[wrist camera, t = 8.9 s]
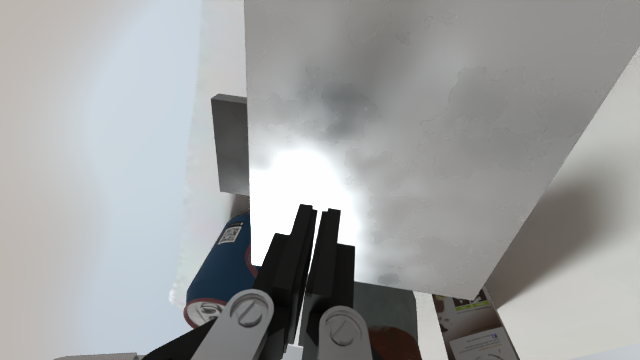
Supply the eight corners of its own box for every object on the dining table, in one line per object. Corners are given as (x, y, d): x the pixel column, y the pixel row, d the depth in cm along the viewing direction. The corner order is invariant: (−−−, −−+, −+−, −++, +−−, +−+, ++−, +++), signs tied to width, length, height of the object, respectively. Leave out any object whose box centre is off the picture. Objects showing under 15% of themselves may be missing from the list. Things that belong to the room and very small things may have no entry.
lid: (640, 3, 12) (667, 2, 11) (467, 286, 22) (473, 300, 21) (207, -51, 12) (194, -55, 11) (232, 248, 22) (226, 260, 21)
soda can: (290, 246, 36) (265, 341, 26) (242, 253, 38) (200, 345, 27) (270, 203, 33) (231, 292, 22) (218, 213, 34) (160, 300, 24)
